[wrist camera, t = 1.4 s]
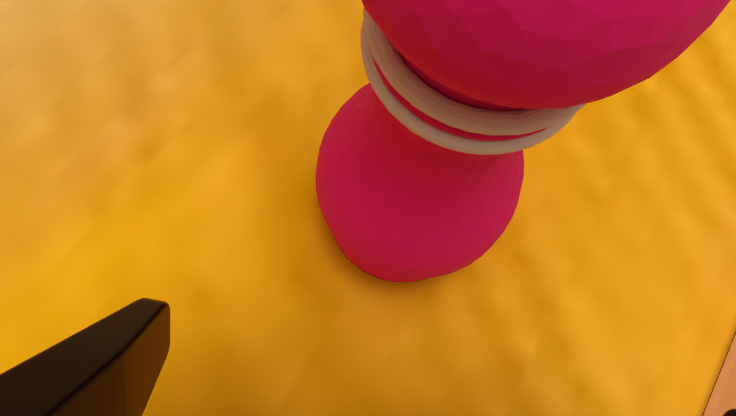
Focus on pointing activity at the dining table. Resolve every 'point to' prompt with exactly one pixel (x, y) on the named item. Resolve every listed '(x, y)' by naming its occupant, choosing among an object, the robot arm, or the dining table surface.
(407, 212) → the pepper mill
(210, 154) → the dining table surface
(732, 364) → the dish
